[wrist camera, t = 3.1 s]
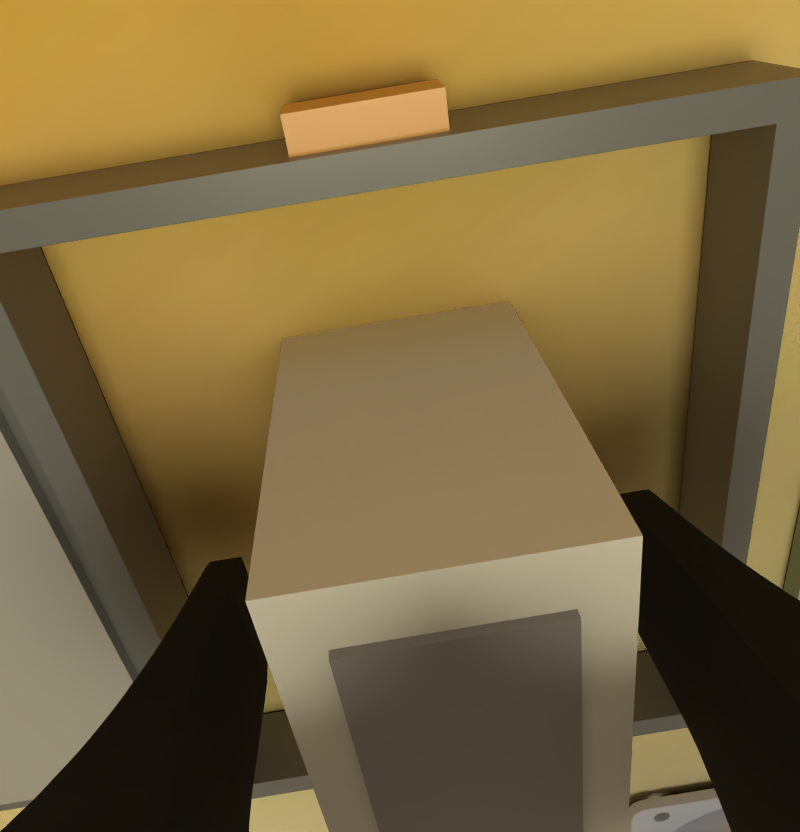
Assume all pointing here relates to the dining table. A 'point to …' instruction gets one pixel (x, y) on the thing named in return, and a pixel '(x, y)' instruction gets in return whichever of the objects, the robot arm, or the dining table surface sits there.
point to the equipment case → (309, 181)
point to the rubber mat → (794, 566)
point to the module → (445, 582)
